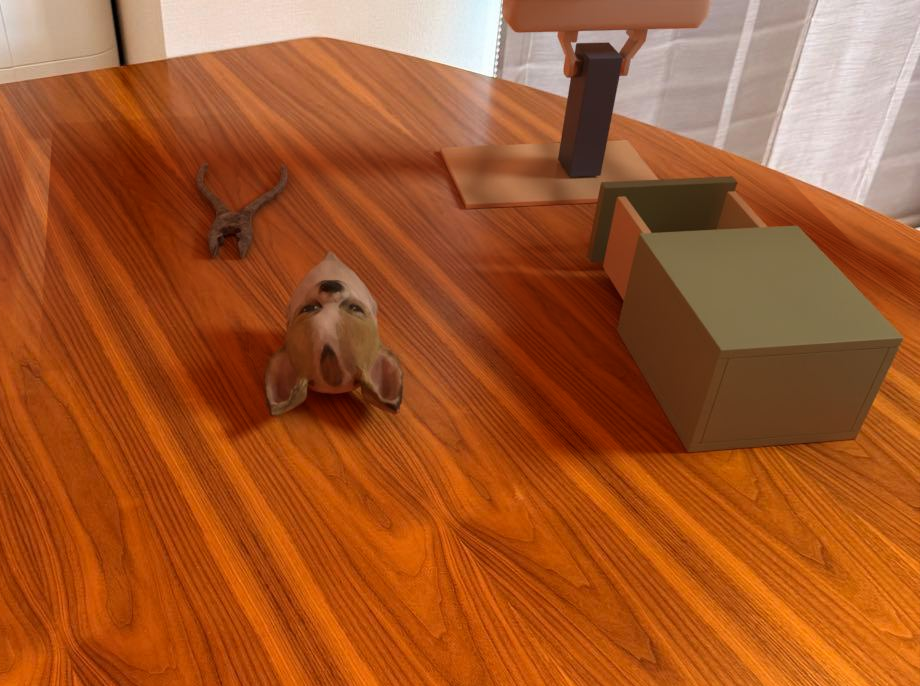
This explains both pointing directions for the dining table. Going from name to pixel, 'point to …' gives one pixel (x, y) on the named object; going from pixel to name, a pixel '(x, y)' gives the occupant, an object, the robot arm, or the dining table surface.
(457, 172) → the mat
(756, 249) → the cabinet
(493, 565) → the dining table surface
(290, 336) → the ceramic sculpture
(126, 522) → the dining table surface
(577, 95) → the block
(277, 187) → the pliers
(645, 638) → the dining table surface
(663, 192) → the drawer
